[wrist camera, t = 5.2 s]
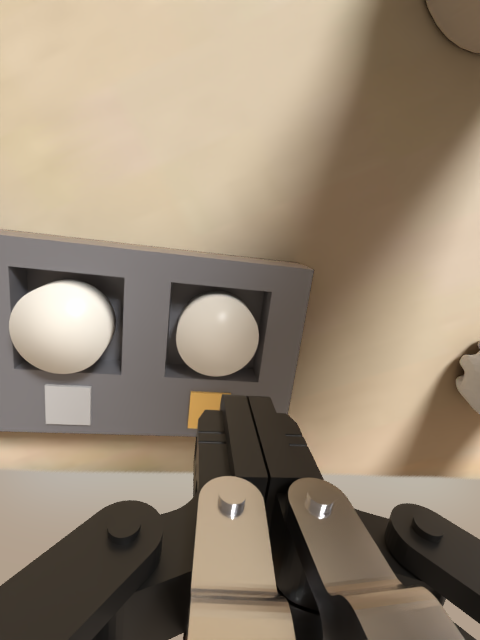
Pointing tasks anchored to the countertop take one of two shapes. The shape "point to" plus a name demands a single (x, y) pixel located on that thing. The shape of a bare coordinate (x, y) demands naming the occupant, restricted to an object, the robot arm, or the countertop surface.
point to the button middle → (62, 326)
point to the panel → (144, 336)
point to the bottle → (470, 380)
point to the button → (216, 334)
